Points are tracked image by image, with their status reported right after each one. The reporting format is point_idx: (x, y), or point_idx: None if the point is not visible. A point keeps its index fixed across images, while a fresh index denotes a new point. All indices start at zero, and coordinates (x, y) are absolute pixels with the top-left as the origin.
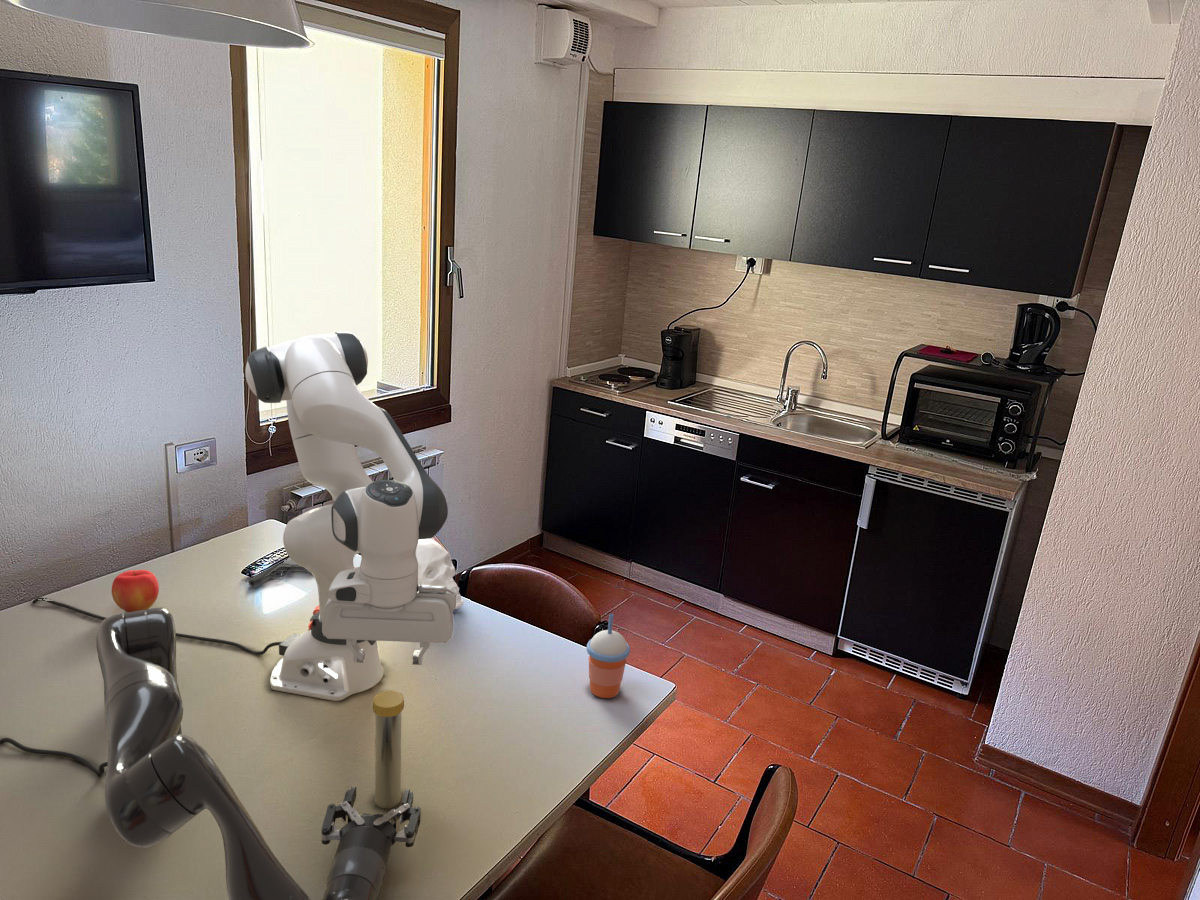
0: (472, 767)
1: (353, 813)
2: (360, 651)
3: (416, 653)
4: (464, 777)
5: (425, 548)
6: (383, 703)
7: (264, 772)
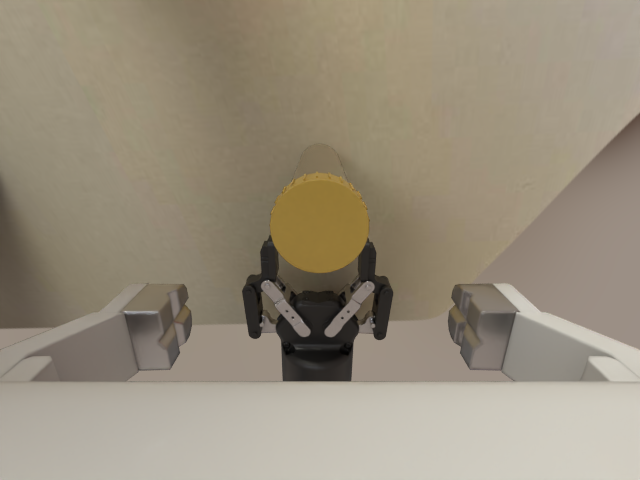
0: (463, 66)
1: (288, 312)
2: (143, 346)
3: (494, 345)
4: (446, 98)
5: None
6: (308, 253)
7: (88, 100)
